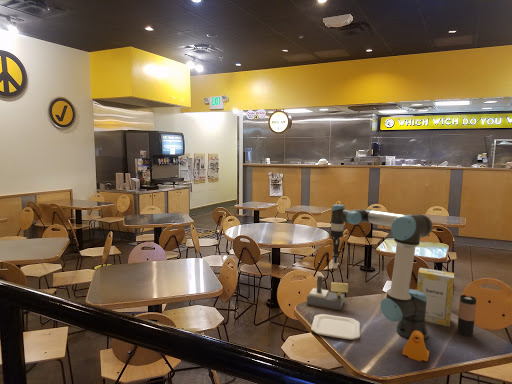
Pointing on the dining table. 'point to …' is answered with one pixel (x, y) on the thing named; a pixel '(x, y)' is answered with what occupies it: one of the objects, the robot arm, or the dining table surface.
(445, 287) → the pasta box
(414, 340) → the bracket
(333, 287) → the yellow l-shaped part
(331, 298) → the block
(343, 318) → the plate
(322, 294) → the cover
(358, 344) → the dining table surface
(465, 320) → the travel mug
